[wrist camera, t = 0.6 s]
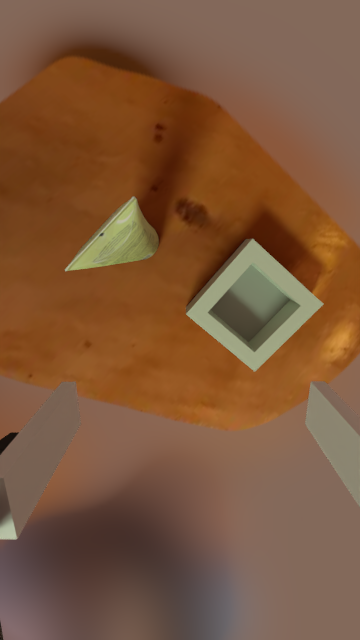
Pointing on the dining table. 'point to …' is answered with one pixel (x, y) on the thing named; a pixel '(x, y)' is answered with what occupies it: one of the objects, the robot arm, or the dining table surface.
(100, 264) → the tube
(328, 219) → the dining table surface
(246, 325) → the socket block
